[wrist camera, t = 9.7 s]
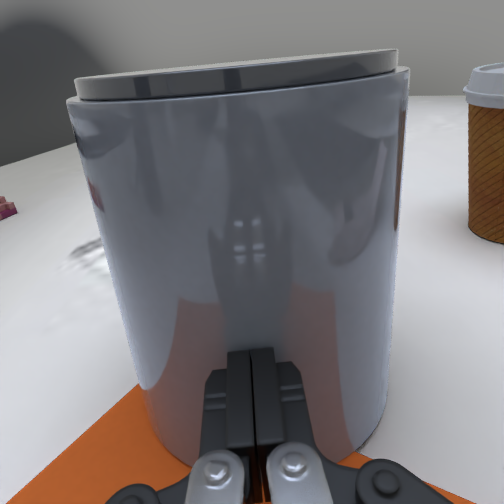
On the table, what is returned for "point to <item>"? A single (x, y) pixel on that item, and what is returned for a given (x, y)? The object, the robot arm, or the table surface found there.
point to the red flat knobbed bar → (6, 208)
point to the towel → (123, 461)
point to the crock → (252, 227)
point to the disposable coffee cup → (486, 151)
